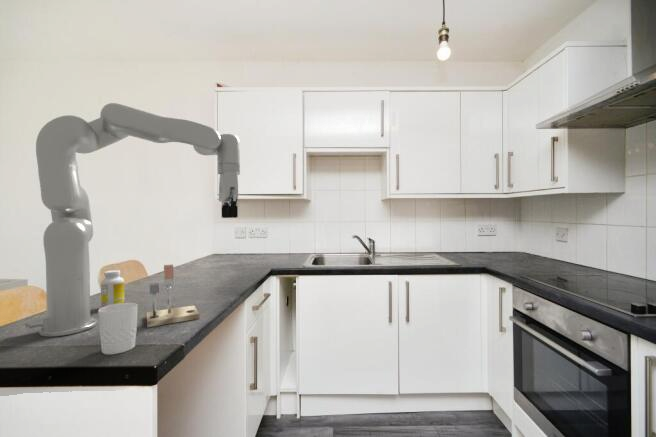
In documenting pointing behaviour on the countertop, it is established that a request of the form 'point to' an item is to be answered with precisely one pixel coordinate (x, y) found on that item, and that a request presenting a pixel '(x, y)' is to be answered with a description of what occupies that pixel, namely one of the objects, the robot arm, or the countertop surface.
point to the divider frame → (156, 287)
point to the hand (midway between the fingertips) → (229, 217)
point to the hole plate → (172, 316)
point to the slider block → (168, 282)
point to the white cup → (118, 327)
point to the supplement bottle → (112, 288)
